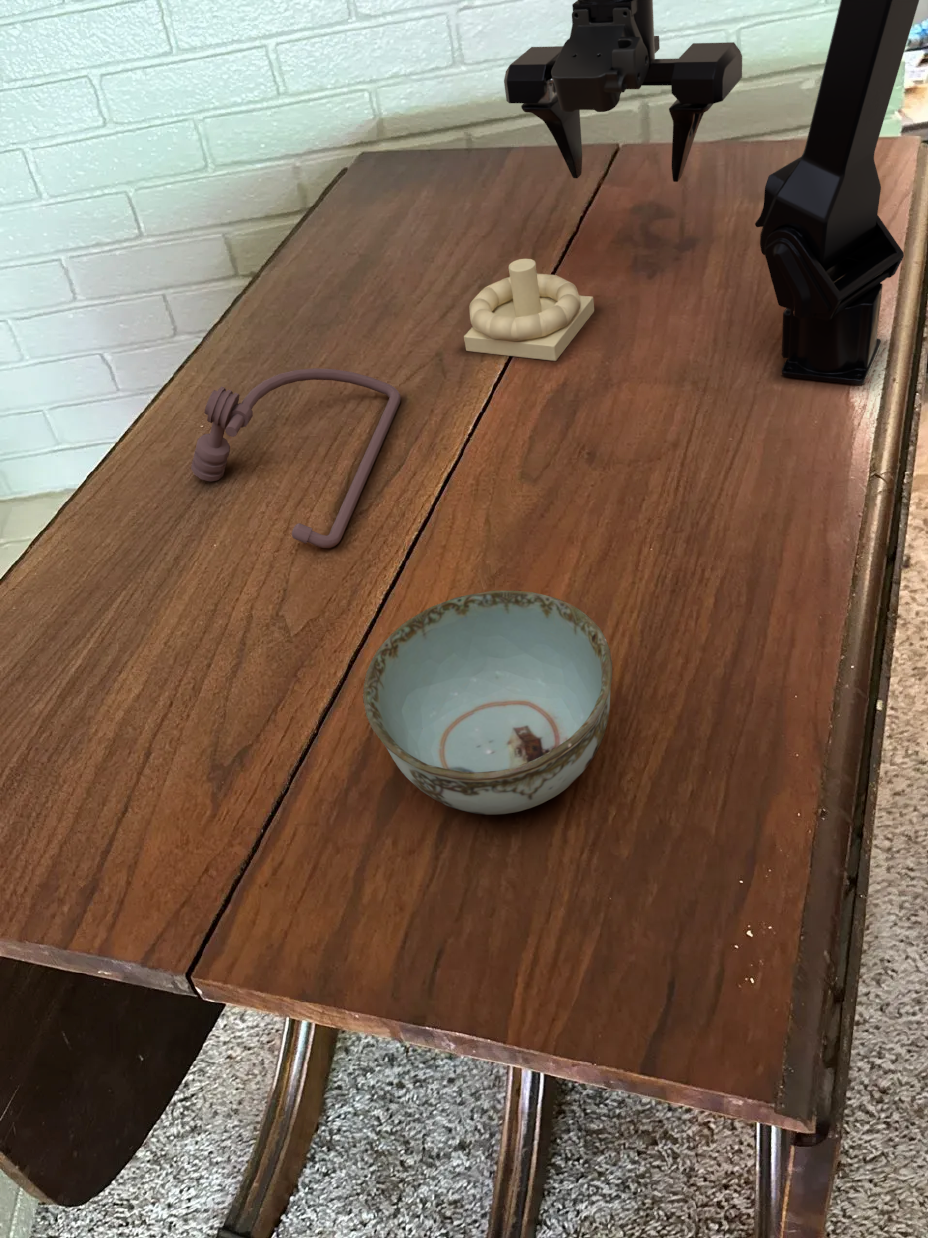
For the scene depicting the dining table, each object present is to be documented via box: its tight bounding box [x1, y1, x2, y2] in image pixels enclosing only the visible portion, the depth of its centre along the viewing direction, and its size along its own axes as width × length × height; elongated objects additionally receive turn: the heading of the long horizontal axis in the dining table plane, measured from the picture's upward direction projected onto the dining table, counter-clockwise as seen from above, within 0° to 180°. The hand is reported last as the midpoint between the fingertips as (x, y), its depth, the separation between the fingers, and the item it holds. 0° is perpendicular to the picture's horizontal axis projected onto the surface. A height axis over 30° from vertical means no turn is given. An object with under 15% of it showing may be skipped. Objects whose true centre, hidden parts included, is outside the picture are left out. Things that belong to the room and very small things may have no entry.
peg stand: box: [463, 258, 595, 362], centre depth 97 cm, size 9×9×6 cm
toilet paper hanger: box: [190, 367, 402, 549], centre depth 88 cm, size 22×8×14 cm
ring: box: [468, 273, 581, 341], centre depth 98 cm, size 10×10×2 cm
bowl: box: [362, 590, 613, 815], centre depth 60 cm, size 14×13×8 cm
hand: (626, 178), depth 94 cm, fingers open, 9 cm apart
